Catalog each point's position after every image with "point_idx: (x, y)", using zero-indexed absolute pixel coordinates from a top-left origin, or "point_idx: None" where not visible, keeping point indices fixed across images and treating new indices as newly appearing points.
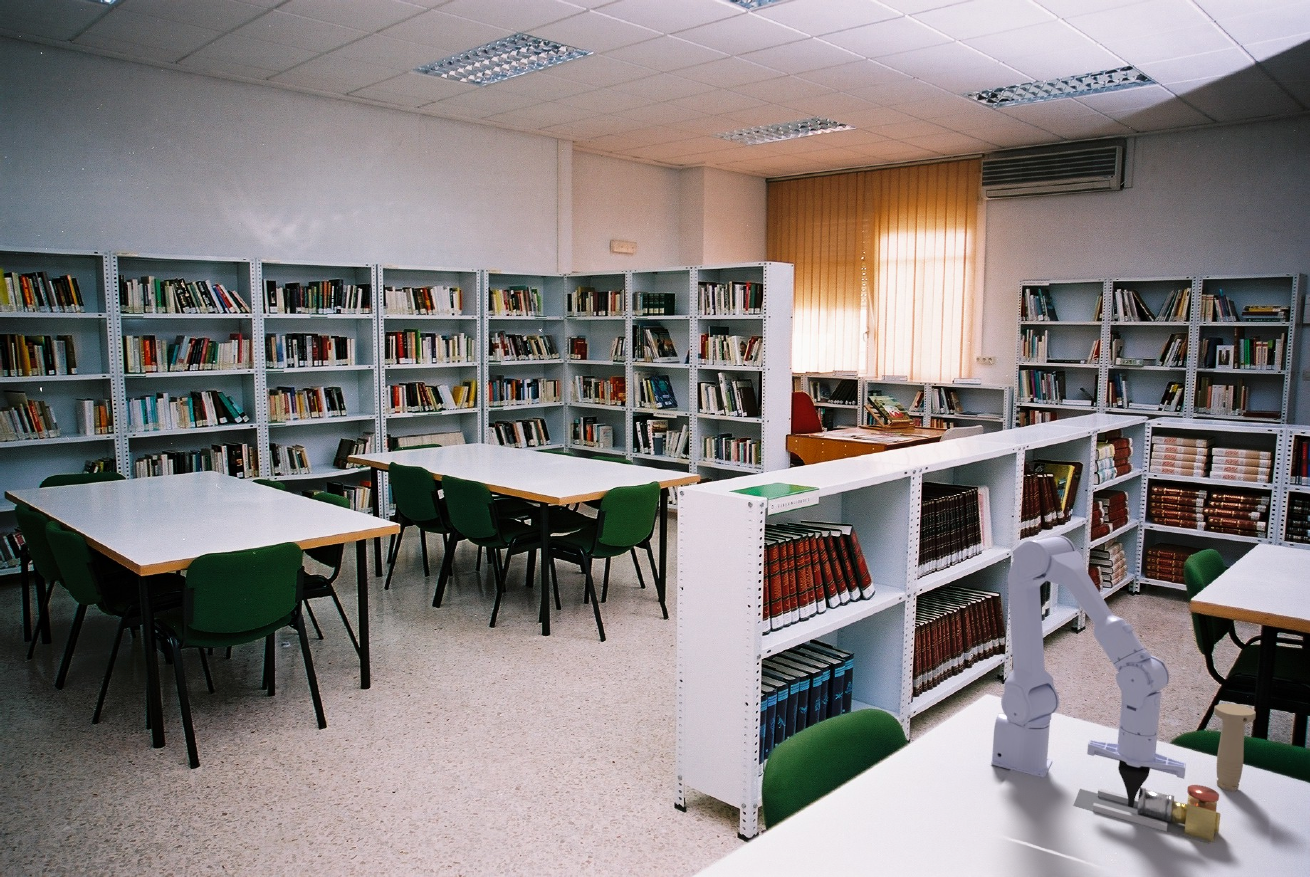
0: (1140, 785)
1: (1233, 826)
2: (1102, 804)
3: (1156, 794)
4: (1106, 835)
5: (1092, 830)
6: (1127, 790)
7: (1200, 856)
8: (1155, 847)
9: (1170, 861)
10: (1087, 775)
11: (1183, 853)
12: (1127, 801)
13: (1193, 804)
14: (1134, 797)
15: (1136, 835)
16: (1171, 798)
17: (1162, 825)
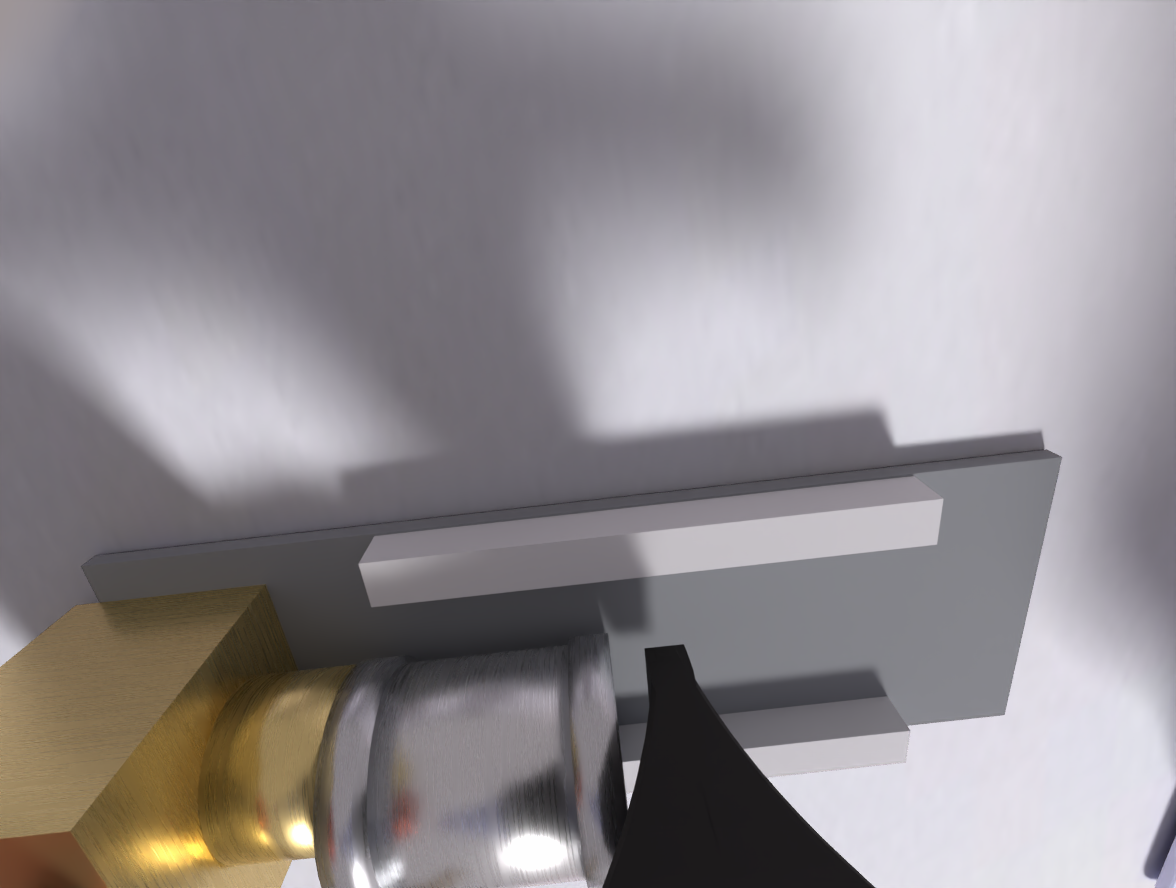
0: (617, 869)
1: None
2: (847, 612)
3: (478, 852)
4: (765, 151)
5: (888, 156)
6: (736, 754)
7: (56, 355)
8: (368, 243)
9: (174, 55)
10: (944, 878)
11: (166, 307)
12: None
13: (15, 858)
14: (652, 715)
15: (548, 345)
16: (335, 863)
17: (394, 554)
